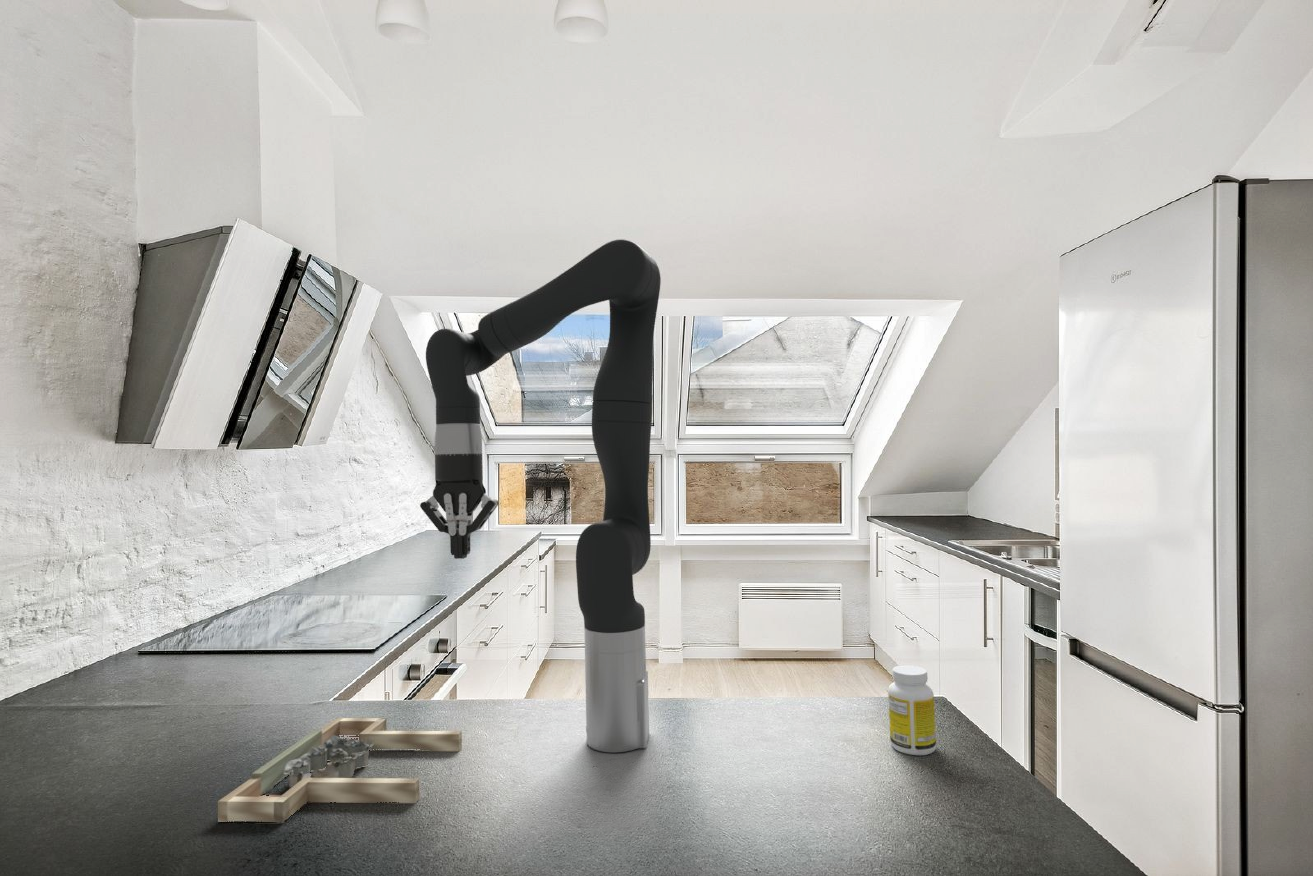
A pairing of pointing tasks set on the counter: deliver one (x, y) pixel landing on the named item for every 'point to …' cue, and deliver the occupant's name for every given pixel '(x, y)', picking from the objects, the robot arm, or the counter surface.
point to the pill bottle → (911, 711)
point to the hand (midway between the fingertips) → (460, 557)
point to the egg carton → (341, 756)
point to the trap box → (340, 790)
